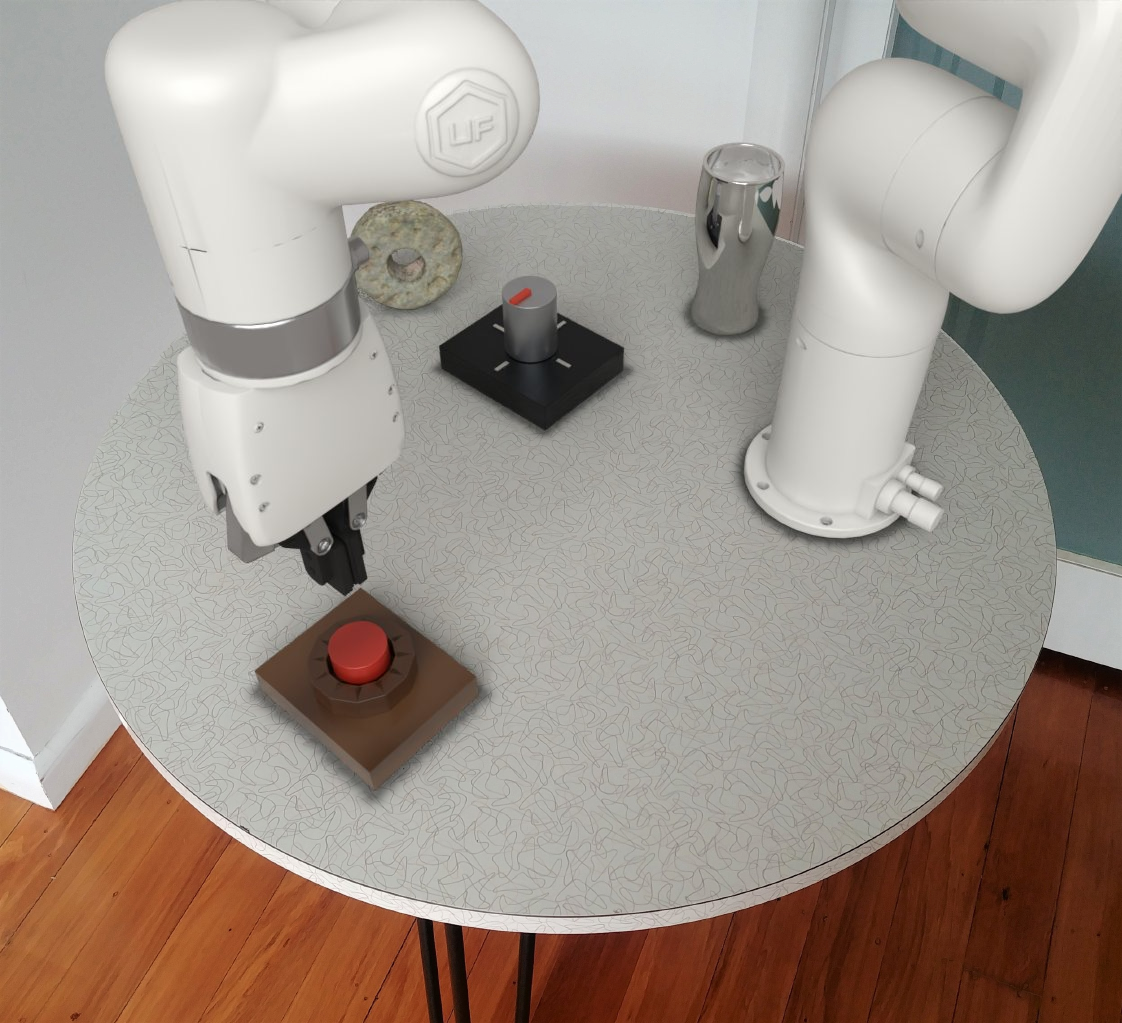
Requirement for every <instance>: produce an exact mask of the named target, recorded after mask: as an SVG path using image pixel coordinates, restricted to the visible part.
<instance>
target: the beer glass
mask: <svg viewBox="0 0 1122 1023" xmlns="http://www.w3.org/2000/svg"><path fill="white" fill-rule="evenodd" d="M785 170H786V162H785V160H784V158H783V156H782V155H781V154H779V153H778V152H777V151H776V150H773V149H772V148H769V147H767V146H766V145H761V144H757V143H753V142H738V141H737V142H728V143H722V144H720V145H719V144H718V145H717V146H714V147H712V148H711V149H709V150H708V151H706V153H705V154H704V156H703V159H702V167H701V171H700V176H699V182H698V186H697V194H696V200H695V201H696V202H695V212H694V213H695V215H694V216H695V217H694V229H695V230H694V232H695V246H696V254H697V265H698V266H697V267H698V279H697V280H698V281H697V287H696V291H695V293H694V297H693V300H692V302H691V307H690V317H691V320H692V321H693V322H694V323H695V325H696V326H698V327H699V328H700V329H702V330H703V331H706V332H708V333H711V334H714V335H719V336H736V335H740V334H743V333H746V332H748V331H750V330H751V329H752V328H754V327H755V326H756V324H757V322H758V320H759V314H760V312H759V311H760V310H759V295H758V294H759V286H760V282H761V277H762V274H763V271H764V268H765V265H766V263H767V260H768V257H769V255H770V252H771V249H772V247H773V245H774V240H775V238H776V235H777V234H776V233H777V230H778V226H779V222H780V216H781V211H782V204H783V203H782V202H783V194H784V180H785Z"/></svg>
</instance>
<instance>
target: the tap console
mask: <svg viewBox="0 0 1122 1023" xmlns="http://www.w3.org/2000/svg"><path fill="white" fill-rule="evenodd" d="M438 350H439V359H440V367H441V370H443V371H444V372H446V373H448V374H449V375H451V376H453V377H455V378H456V379H457V380H459V381H461V382H463V383H464V384H466V385H468V386H470V387H471V388H472V389H474V390H476V391H478V392H480V393H482V394H483V395H484V396H486V397H488V398H490V399H491V400H493V401H494V402H497V403H499V404H500V405H502V406H503V407H505V408H507V409H508V410H510V411H512V412H513V413H515V414H517V415H519V416H520V417H521V418H523V419H525V420H526V421H529V423H532V424H533V425H535V426H537V427H538V428H540V429H541V430H544V431H547V430H548V429H550V428H551V427H552V426H553V425H555V424H556V423H557V422H559V421H560V420H562V419H563V418H564V417H565V416H566V415H567V414H569V413H570V412H572V411H573V410H575V408H577V407H578V406H579V405H581V404H582V403H583V402H584V401H586V400H587V399H588V398H590V397H591V396H592V395H593V394H595V393H596V392H597V391H598V390H600V389H601V388H602V387H605V385H606V384H608V383H609V382H610V381H612V380H613V379H614V378H615V377H617V376H618V375H620V374H621V373H622V372H623V371H624V361H625V359H624V358H625V347H624V346H622V345H620V344H619V343H617V342H615V341H613V340H611V339H609V338H607V337H606V336H603V335H601V334H599V333H598V332H596V331H593V330H591V329H590V328H588V327H586V326H583V325H582V324H580V323H579V322H576V321H574V320H572V319H571V318H569V317H567V316H565V315H563V314H561V313H559V312H557V350H556V352H555V353H554V354H553V355H552V356H551V357H549V358H548V359H546V360H543V361H539V362H522V361H518V360H516V359H514V358H512V357H511V356H510V355H509V354H508V353H507V352H506V349H505V337H504V321H503V304H502V303H501V304H500V305H499V306H496V307H495V308H494V309H493V310H491V311H489V312H488V313H486V314H485V315H483V316H482V317H480V318H479V319H477V320H476V321H474V322H473V323H471V324H470V325H468V326H466V327H465V328H463V329H461V331H459V332H458V333H456V334H454V335H453V336H451V337H450V338H448V339H447V340H445V341H444V342H442V343H441V344H439V345H438Z"/></svg>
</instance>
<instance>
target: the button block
mask: <svg viewBox="0 0 1122 1023" xmlns="http://www.w3.org/2000/svg"><path fill="white" fill-rule="evenodd" d="M356 621H367V622H371V623H374V624H376V625H378V626H379V627H380V628H381V629H382V630H383V631H384V632H385V634H386V637H387V641H388V646H389V650H390V655H391V659H390V664H389V666H388V668H387V670H386V671H385V672H384V674H383V675H382V676H380V677H379V678H378V679H376V680H374V681H372V682H370V683H366V684H350V683H347V682H345V681H343V680H341V679H340V678H339V677H338V676H337V675H336V674H335V672H334V670H333V666H332V663H331V660H330V656H329V653H328V645H329V641H330V639H331V637H332V635H333V634H334V633H335V632H336V631H337V630H338V629H339V628H341V627H342V626H344V625H346V624H348V623H351V622H356ZM254 674H255V676H256V679H257V682H258V684H259V687H260V689H261V691H262V692H263V693H264V694H266V695H267V696H268V697H269V698H270V699H271V701H272V700H273V702H274V703H275V704H277V705H278V706H279V707H280V708H281V709H283V710H284V712H286V713H287V714H288V715H289V716H290V717H291V718H292V719H294V720H295V721H296V722H297V723H298V724H299V725H301V727H302V728H303V729H305V730H306V731H307V732H308V733H309V734H310V735H311V736H313V737H314V738H315V739H316V740H317V741H318V742H319V743H320V744H322V745H323V746H324V747H325V748H326V749H327V750H328V751H329V752H331V753H332V754H333V755H334V756H335V757H336V758H337V759H338V760H340V761H341V762H342V763H343V765H345V766H346V767H347V768H349V769H350V770H351V771H352V772H353V773H354V774H356V776H357V777H358V778H360V779H361V780H362V781H363V782H364V783H366V784H367V786H369V787H370V788H371V789H372V790H374V791H376V790H377V789H379V787H381V786H382V785H383V784H384V783H385V782H386V781H387V780H388V779H389V778H390V777H391V776H392V775H393V774H395V773H396V772H397V771H398V770H399V769H400V768H401V767H402V766H403V765H405V763H407V761H409V760H410V759H411V758H412V757H413V756H414V755H415V754H416V753H418V751H420V750H421V749H422V748H423V747H424V746H425V745H426V744H428V743H429V741H430V740H432V739H433V738H434V737H435V736H436V735H437V734H438V733H439V732H440V731H441V730H443V728H445V727H446V726H447V725H448V724H449V723H450V722H451V721H452V720H454V719H455V718H456V717H457V716H458V715H459V714H460V713H461V712H462V711H463V710H464V709H466V708H467V707H468V706H469V705H470V704H471V703H472V702H473V701H474V700H475V699H477V697H479V687H478V679H477V678H478V677H477V675H476V674H474V673H473V672H472V671H471V670H469V669H467V667H465V666H464V665H462V664H461V663H460V662H458V661H457V659H455V658H454V657H452V656H451V655H449V654H448V653H447V652H446V651H444V650H443V649H442V648H440V647H439V646H438V645H437V644H435V643H434V642H433V641H431V640H430V639H429V638H427V637H426V636H424V635H423V634H422V633H421V632H420V631H418V630H417V629H416V628H414V627H413V626H412V625H411V624H409V623H408V622H407V621H406V620H404V619H402V618H401V617H400V616H399V615H397V613H395V612H393V611H392V610H391V609H390V608H388V607H387V606H386V605H384V604H383V603H382V602H381V601H379V600H378V599H377V598H376V597H374V596H373V595H371V594H370V593H369V592H367V591H366V590H365V589H364V588H362V587H360V588H358V589H357V590H355V591H354V592H353V593H351V595H349V596H348V597H347V598H345V599H343V601H342V602H340V603H339V604H337V605H336V606H335V607H334V608H332V610H330V611H329V612H327V613H326V614H324V616H322V617H321V618H320V619H318V620H317V621H316V622H315V623H313V624H312V625H311V626H310V627H308V628H307V629H305V631H303V632H302V633H301V634H299V635H298V636H297V637H295V638H294V639H293V640H292V641H290V642H289V643H288V644H287V645H285V646H284V647H282V649H280V650H279V651H277V652H276V653H275V654H274V655H273V656H271V657H270V658H268V659H267V660H266V661H265V662H263V663H262V664H261V665H260V666H258V667H257V668H256V669H255V670H254Z"/></svg>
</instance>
